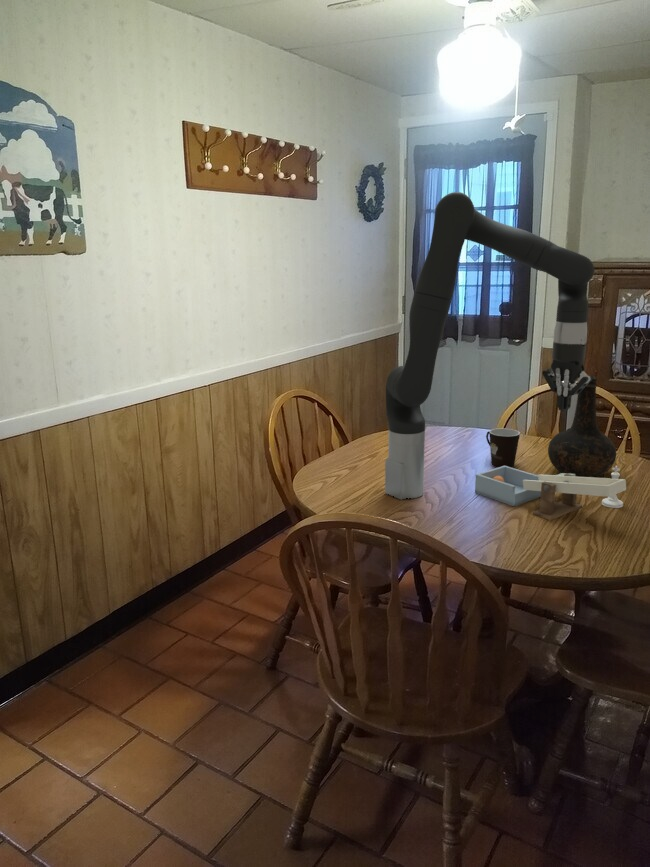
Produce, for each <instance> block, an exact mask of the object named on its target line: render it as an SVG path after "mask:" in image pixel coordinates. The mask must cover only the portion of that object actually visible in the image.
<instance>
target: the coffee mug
mask: <svg viewBox="0 0 650 867" xmlns="http://www.w3.org/2000/svg"><path fill="white" fill-rule="evenodd" d="M520 435H521V432H520V431H519V430H516V429H512V428H501V427H500V428H493V429H489V431H487V432H486V436H485V437H486V441H487V444H488V446H489V447H490V462H491V464H490V465H491V466H492V467H494V468H498V467H501V466H508V467H511V468H514V467H515V461H516V458H517V457H516V456H517V452H518V446H519V440H520Z"/></svg>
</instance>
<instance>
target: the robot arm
mask: <svg viewBox="0 0 650 867" xmlns="http://www.w3.org/2000/svg"><path fill="white" fill-rule="evenodd" d="M465 240H467V241H470V242H473V243H477V244H479V245H482V246H484V247H487V248H489V249H491V250H493V251H496V252H498V253H500V254H501V255H504V256H506V257H508V258H510V259H513V260H514V261H517V262H519V263H521V264H523V265H525V266H527V267H529V268H532V269H534V270H536V271H539V272H543V273H546V274H548V275H550V276H552V277H554V278H555V279H557V285H558V286H557V287H558V288H557V291H558V293H557V294H558V300H557V301H558V302H557V307H556V319H555V320H556V321H555V326H554V329H553V343H552V352H551V353H552V354H551V358H552V362H551V364H550V367H548V369H545V370H543V371H542V372H541V373H542V376H543V378H544V379H545V381H546V383H547V385H548V387H549V388H550V391H551V392H553V393H556V394H557V403H556V406H557V409H558V411H562V412H567V411H568V410H570V409H571V404H572V396H574V395H578V394H579V393H580V392H581V391H582V390H583V389H584V388H585V387H586V386H587V384H588V383H589V382H590V381H591V380H592V376H593V375H589V374H587V373H586V372H585V370H586V369H585V366H584V362H585V359H586V350H587V340H588V316H589V300H588V283H589V282H590V281H591V280H592V278H593V277H594V274H595V265H594V263H593V262H592V260H591V259H590V258H588V257H587V256H585V255H583V254H580V253H578V252H575V251H573V250H570V249H568V248H564V247H562V246H559V245H557V244H556V243H554V242H552V241H550V240H548V239H546V238H544V237H541V236H540V235H538V234H535V233H532V232H530V231H527V230H524V229H521V228H518V227H515V226H511V225H508V224H504V223H502V222H499V221H496V220H494V219H492V218H490V217H488V216H486V215H484V214H482V213H481V212H479V211H478V210H476V209H475V205H474V203H473V200H472V199H471V198H470V196H468V195H467V194H465V192H464V193H463V192H461V191H454V192H453V191H452V192H450V193H449V192H448V193H447V194H445V195H444V196H443V197H442V198H441V199H440V200H439V201H438V203H437V204H436V207H435V211H434V220H433V229H432V234H431V239H430V244H429V249H428V252H427V256H426V258H425V261H424V263H423V266H422V269H421V271H420V274H419V277H418V280H417V283H416V285H415V288H414V293H413V297H412V300H411V305H410V309H409V317H408V318H409V321H408V322H409V323H408V324H409V347H408V354H407V356H406V359H405V364H404V365H399V366H396V367H395V368H393V369H392V370H391V371H390V372H389V374H388V376H387V379H386V383H385V409H386V410H385V412H386V413H385V414H386V419H387V422H388V450H387V451H388V453H387V455H388V457H387V458H385V460H384V462H385V464H384V465H385V467H384V469H385V470H384V471H385V473H384V493H385V494H386V495H388V494H389V495H388V496H391V497H393V496H394V498H396V499H398V500H406V498H408V499H409V498H411V499H416V498H420V497H421V496H423V495H424V487H425V486H424V484H425V483H424V481H425V479H424V478H425V448H426V447H425V442H426V440H425V439H426V438H425V437H426V419H425V417H424V415H423V413H422V410H421V409H422V408H421V405H422V404H424V403H425V402H426V401H427V399H428V398H429V396H430V393H431V391H432V386H433V379H434V373H435V366H436V362H437V361H436V360H437V356H438V351H439V348H440V344H441V341H442V337H443V334H444V333H443V332H444V330H445V326H446V322H447V319H448V316H449V311H450V308H451V305H452V300H453V297H454V291H455V286H456V282H457V281H456V280H457V275H458V267H459V260H460V257H461V252H462V250H463V246H464V244H465ZM588 375H589V376H588ZM579 377H580V378H579ZM576 382H578V383H577V384H576Z"/></svg>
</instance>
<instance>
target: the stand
mask: <svg viewBox="0 0 650 867" xmlns="http://www.w3.org/2000/svg"><path fill="white" fill-rule="evenodd" d="M564 476H574V475H570V474H564ZM576 477H577V476H576ZM555 488H556V485H555V484H551V483H548V482H542V486H541V497H540V500H539V501H540V502H539V508H538V509H536V510H534V511H532V515H534V516H537V517H540V518H543V519H545V520H548V521H553V520H555V519H558V518H560V517H562V516H565V515H567V514H569V513H572V512H575V511H577V510H579V509H581V508H583V504H581V503H577V502H576V501H577V494H569V493H561V494H562V495H561V496H562V497H561V500H560V501H557V502H555V499H556V492H555Z"/></svg>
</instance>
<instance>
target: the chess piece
mask: <svg viewBox="0 0 650 867" xmlns="http://www.w3.org/2000/svg"><path fill="white" fill-rule="evenodd" d="M611 470H612V471H614V472H611V473H610V476H611V479H620V476H621V474H620V473H619V472H620V471H621V468H618V465H615V466H614V467H611ZM617 494H618V493H617ZM617 494H615V495H613V496H610V497H606V498H603V499H602V500H601V504H602V505H603V507H606V508H611V509H612V508H613V509H619V508H620V509H621V508H623V507H624V502H623V501H622V500H620V499H619V498H618V496H617Z"/></svg>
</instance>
